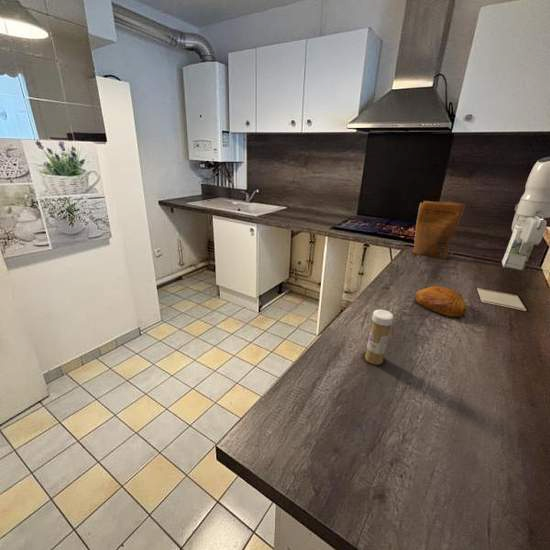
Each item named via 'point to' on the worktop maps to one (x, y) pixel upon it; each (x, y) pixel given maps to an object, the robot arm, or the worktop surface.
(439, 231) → the pancake mix bag
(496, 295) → the napkin
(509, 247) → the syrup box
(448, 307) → the bread loaf
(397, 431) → the worktop surface
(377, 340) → the sprinkles bottle
